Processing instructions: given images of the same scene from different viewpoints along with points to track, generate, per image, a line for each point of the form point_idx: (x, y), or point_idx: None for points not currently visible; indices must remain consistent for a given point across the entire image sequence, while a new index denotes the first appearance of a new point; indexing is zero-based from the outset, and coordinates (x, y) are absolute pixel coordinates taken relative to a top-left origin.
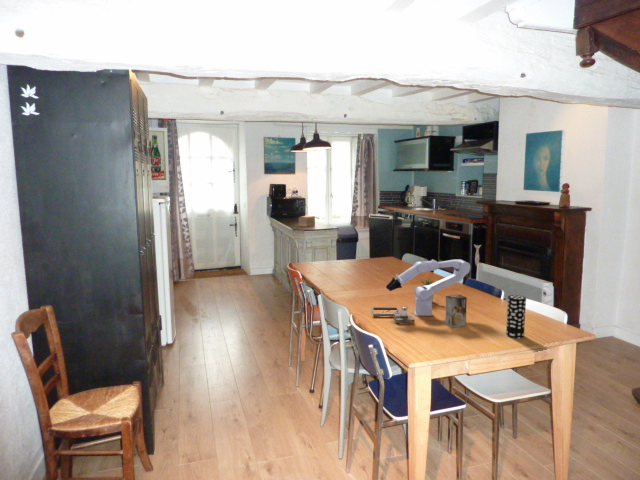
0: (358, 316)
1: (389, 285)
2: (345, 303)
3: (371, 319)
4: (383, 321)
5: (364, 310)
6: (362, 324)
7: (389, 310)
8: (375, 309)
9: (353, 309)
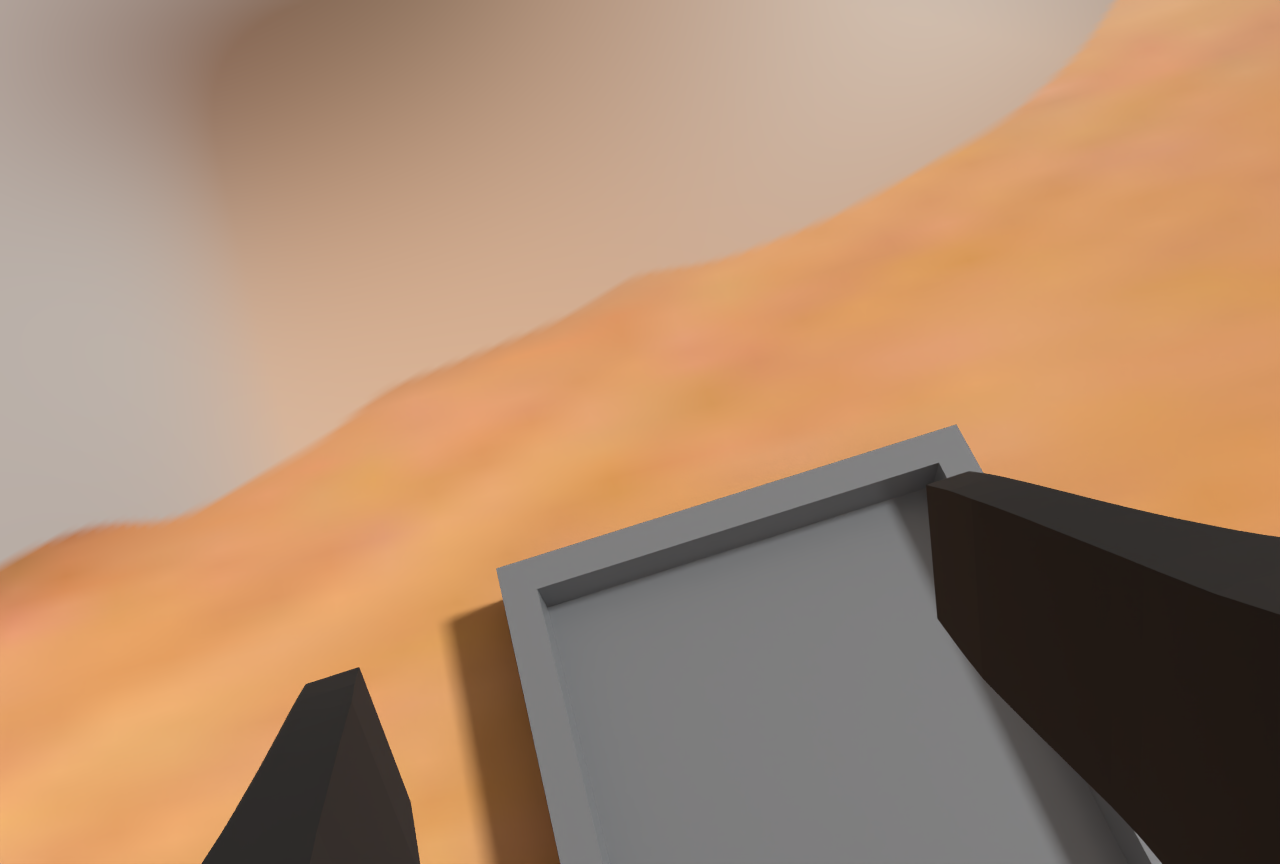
0: (510, 373)
1: (1049, 610)
2: (1124, 33)
3: (385, 604)
4: None
5: (881, 360)
6: (107, 538)
7: (1053, 831)
8: None
9: (860, 208)
